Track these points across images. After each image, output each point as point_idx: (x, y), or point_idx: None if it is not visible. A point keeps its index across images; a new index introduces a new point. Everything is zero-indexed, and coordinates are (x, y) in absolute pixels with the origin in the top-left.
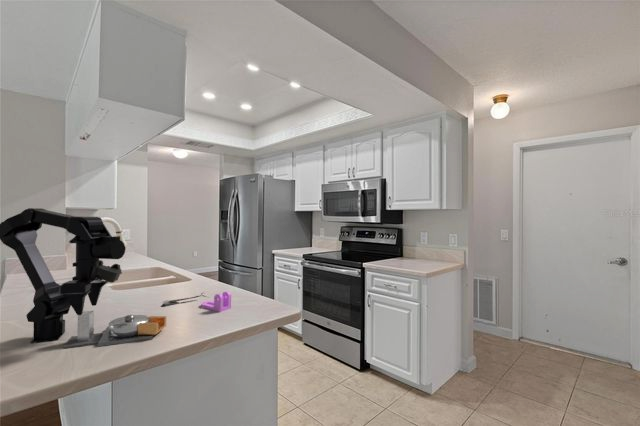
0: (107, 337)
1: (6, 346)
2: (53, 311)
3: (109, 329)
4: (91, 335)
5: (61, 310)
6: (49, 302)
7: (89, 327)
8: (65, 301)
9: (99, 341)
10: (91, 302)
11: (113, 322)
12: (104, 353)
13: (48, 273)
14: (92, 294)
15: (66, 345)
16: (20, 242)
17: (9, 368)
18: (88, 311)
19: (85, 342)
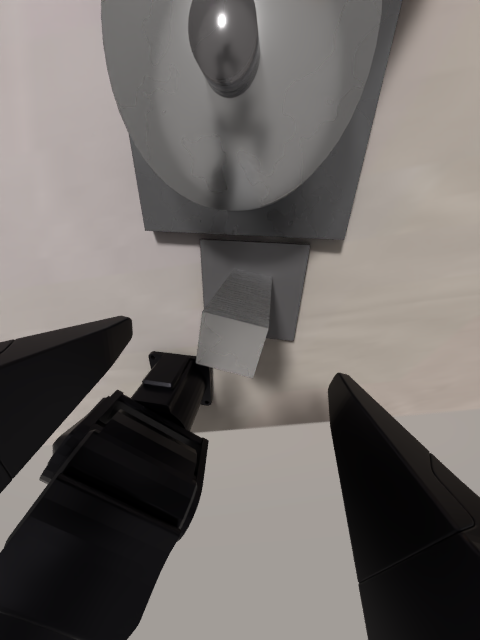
0: (291, 207)
1: (212, 430)
2: (191, 456)
3: (276, 200)
4: (251, 275)
5: (153, 429)
6: (182, 522)
7: (267, 294)
8: (124, 463)
9: (326, 235)
10: (118, 352)
11: (228, 183)
12: (449, 195)
13: None
14: (55, 394)
15: (284, 334)
16: None
17: None
18: (206, 337)
19: (286, 286)
